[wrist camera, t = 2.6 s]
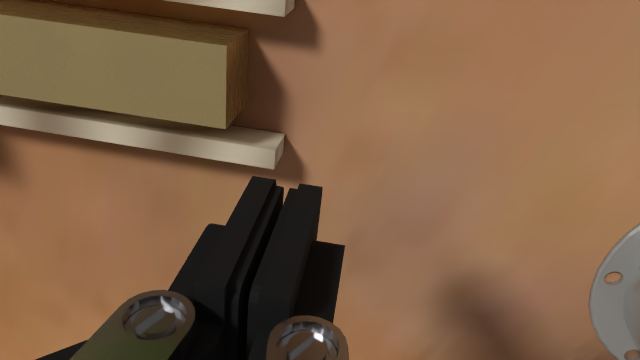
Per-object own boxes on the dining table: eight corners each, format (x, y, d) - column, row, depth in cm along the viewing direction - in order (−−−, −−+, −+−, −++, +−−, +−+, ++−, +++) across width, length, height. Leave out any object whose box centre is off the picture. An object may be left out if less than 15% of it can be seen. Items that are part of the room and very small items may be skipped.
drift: (250, 27, 24) (226, 46, 20) (248, 101, 25) (225, 129, 22) (-31, -11, 25) (-95, 1, 22) (-16, 62, 27) (-72, 83, 23)
